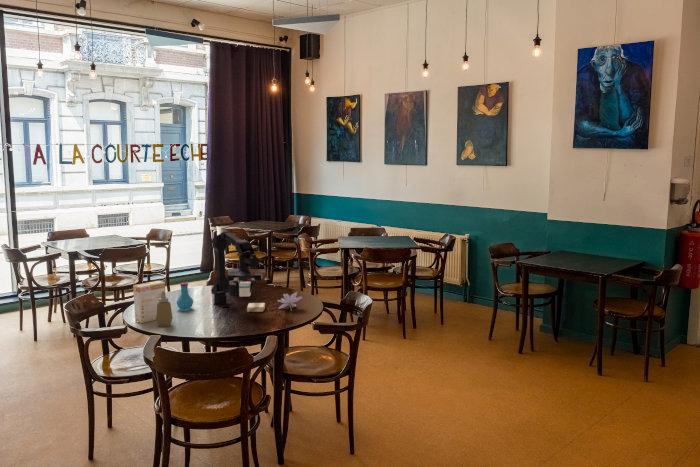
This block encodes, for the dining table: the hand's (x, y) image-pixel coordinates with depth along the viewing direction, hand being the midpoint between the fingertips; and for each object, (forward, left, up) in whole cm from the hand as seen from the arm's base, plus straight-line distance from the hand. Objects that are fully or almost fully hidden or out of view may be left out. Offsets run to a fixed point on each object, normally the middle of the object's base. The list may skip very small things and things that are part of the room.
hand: (245, 292), depth 333 cm
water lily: (+24, +6, -12) cm, 27 cm away
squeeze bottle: (-39, -21, -12) cm, 46 cm away
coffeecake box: (-49, -9, -12) cm, 51 cm away
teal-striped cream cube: (0, 0, -2) cm, 2 cm away
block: (+5, +6, -12) cm, 14 cm away
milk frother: (-14, +48, -12) cm, 51 cm away
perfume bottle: (-35, +10, -12) cm, 38 cm away
